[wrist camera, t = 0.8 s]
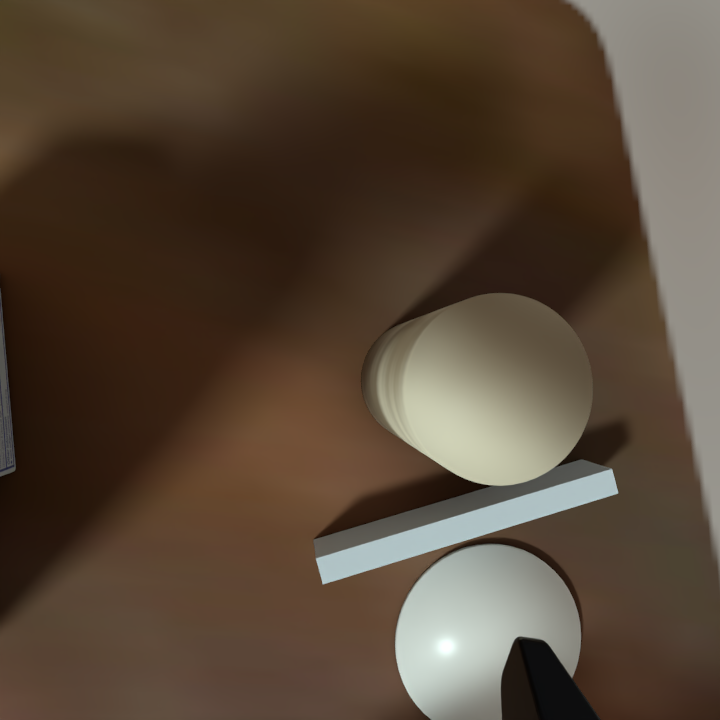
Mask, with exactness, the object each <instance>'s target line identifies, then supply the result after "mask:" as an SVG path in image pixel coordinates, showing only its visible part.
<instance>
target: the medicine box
mask: <svg viewBox="0 0 720 720" xmlns="http://www.w3.org/2000/svg"><path fill="white" fill-rule="evenodd" d="M15 469H16V464H15V454H14V442H13V431H12V419H11V406H10V395H9V383H8V371H7V360H6V349H5V338H4V325H3V313H2V302H1V290H0V477H1V476H3V475H6V474H9V473H12V472H14V471H15Z"/></svg>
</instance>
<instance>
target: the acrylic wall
mask: <svg viewBox="0 0 720 720" xmlns="http://www.w3.org/2000/svg"><path fill="white" fill-rule="evenodd" d="M615 494H618V490H617V486H616V483H615V479H614V475H613V471H612V469H611V468H608V467H605V466H601V465H598V464H595V463H592V462H589V461H586V460H583V459H581V460H578V461H574V462H571V463H568V464H564V465H561V466H558V467H554V468H552V469H551V470H550V471H548V472H547V473H545V474H543V475H541V476H539V477H537V478H535V479H532V480H529V481H527V482H523V483H519V484H514V485H504V486H496V485H494V486H491V487H488V488H484V489H481V490H477V491H474V492H471V493H467V494H464V495H461V496H457V497H454V498H451V499H447V500H444V501H441V502H437V503H434V504H431V505H427V506H424V507H421V508H417V509H414V510H411V511H407V512H404V513H401V514H397V515H394V516H391V517H387V518H384V519H381V520H377V521H374V522H370V523H367V524H364V525H360V526H357V527H354V528H350V529H347V530H344V531H340V532H337V533H334V534H330V535H327V536H324V537H320V538H317V539H314V548H315V555H316V560H317V564H318V568H319V571H320V575H321V579H322V583H323V584H326V583H329V582H332V581H335V580H339V579H342V578H345V577H348V576H352V575H355V574H358V573H361V572H365V571H368V570H371V569H374V568H378V567H381V566H384V565H387V564H391V563H394V562H397V561H400V560H404V559H407V558H410V557H413V556H417V555H420V554H423V553H426V552H430V551H433V550H436V549H439V548H443V547H446V546H449V545H452V544H456V543H459V542H462V541H465V540H469V539H472V538H475V537H478V536H482V535H485V534H488V533H491V532H495V531H498V530H501V529H504V528H507V527H511V526H514V525H517V524H520V523H524V522H527V521H530V520H533V519H537V518H540V517H543V516H546V515H550V514H553V513H556V512H559V511H563V510H566V509H569V508H572V507H576V506H579V505H582V504H585V503H589V502H592V501H595V500H598V499H602V498H605V497H608V496H611V495H615Z"/></svg>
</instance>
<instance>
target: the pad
mask: <svg viewBox="0 0 720 720" xmlns="http://www.w3.org/2000/svg"><path fill="white" fill-rule="evenodd" d="M519 636H523V637H529V638H536V639H541V640H544V641H545V642H546V643H548V645H549V646H550V647H551V649H552V650H553V652H554V653H555V654H556V656H557V657H558V659H559V660H560V662H561V663H562V665H563V666H564V667H565V669H566V670H567V672H568V673H569V675H570V676H571V678H572V677H573V675H574V673H575V670H576V666H577V663H578V659H579V654H580V647H581V627H580V620H579V615H578V611H577V608H576V605H575V602H574V599H573V597H572V595H571V593H570V591H569V589H568V588H567V586H566V585H565V583H564V582H563V580H562V579H561V578H560V577H559V575H558V574H557V573H556V572H555V571H554V570H553V569H552V568H551V567H550V566H548V565H547V564H546V563H545V562H544V561H542V560H541V559H539V558H538V557H536V556H535V555H533V554H531V553H529V552H527V551H525V550H523V549H520V548H516V547H513V546H509V545H503V544H489V543H488V544H478V545H472V546H468V547H464V548H461V549H459V550H456V551H454V552H451V553H450V554H448V555H446V556H444V557H442V558H441V559H439V560H438V561H437V562H435V563H434V564H432V565H431V566H430V567H429V568H428V569H427V570H426V571H425V572H424V573H423V574H422V575H421V576H420V577H419V578H418V580H417V581H416V582H415V583H414V585H413V586H412V588H411V589H410V591H409V592H408V594H407V596H406V598H405V600H404V602H403V605H402V607H401V610H400V613H399V616H398V620H397V625H396V631H395V654H396V660H397V665H398V669H399V672H400V675H401V678H402V681H403V684H404V686H405V688H406V690H407V692H408V694H409V695H410V697H411V698H412V700H413V701H414V703H415V704H416V705H417V706H418V707H419V709H420V710H421V711H422V712H423V713H424V714H425V715H426V716H428V717H429V718H430V719H431V720H502V710H501V677H502V672H503V669H504V666H505V664H506V661H507V658H508V655H509V652H510V650H511V647H512V644H513V642H514V640H515V639H516V638H517V637H519Z"/></svg>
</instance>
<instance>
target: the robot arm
mask: <svg viewBox="0 0 720 720" xmlns="http://www.w3.org/2000/svg"><path fill="white" fill-rule="evenodd" d="M501 710H502V720H600V718H599V717H598V715H597V714H596V712H595V711H594V709H593V708H592V706H591V705H590V704H589V702H588V701H587V699H586V698H585V696H584V695H583V693H582V692H581V691H580V689H579V688H578V686H577V685H576V683H575V682H574V680H573V679H572V678H571V676H570V675H569V673H568V672H567V670H566V669H565V667H564V666H563V665H562V663H561V662H560V660H559V659H558V657H557V656H556V654H555V653H554V652H553V650H552V649H551V647H550V646H549V645H548V643H546V642H545V641H544V640H541V639H536V638H529V637H523V636H519V637H517V638H516V639H515V640H514V642H513V644H512V647H511V650H510V652H509V655H508V658H507V661H506V664H505V666H504V669H503V672H502V677H501Z"/></svg>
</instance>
